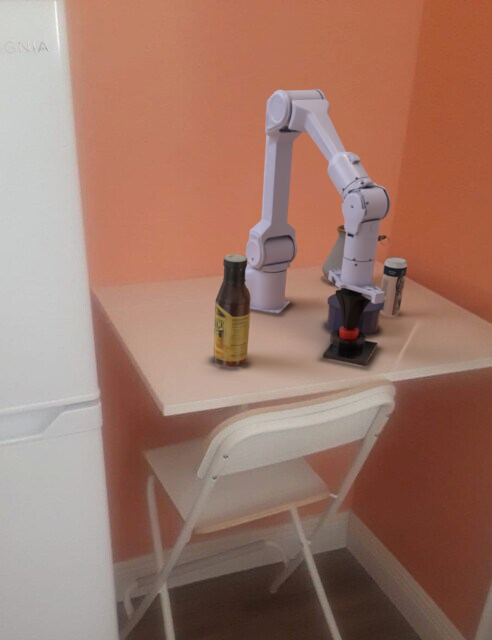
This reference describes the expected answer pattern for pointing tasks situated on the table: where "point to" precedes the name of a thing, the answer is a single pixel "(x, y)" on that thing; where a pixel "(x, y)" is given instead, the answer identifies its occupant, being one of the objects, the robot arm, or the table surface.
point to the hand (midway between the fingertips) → (349, 327)
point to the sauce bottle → (232, 314)
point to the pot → (365, 324)
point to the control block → (350, 349)
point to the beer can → (393, 285)
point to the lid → (369, 309)
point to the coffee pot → (339, 253)
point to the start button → (348, 333)
